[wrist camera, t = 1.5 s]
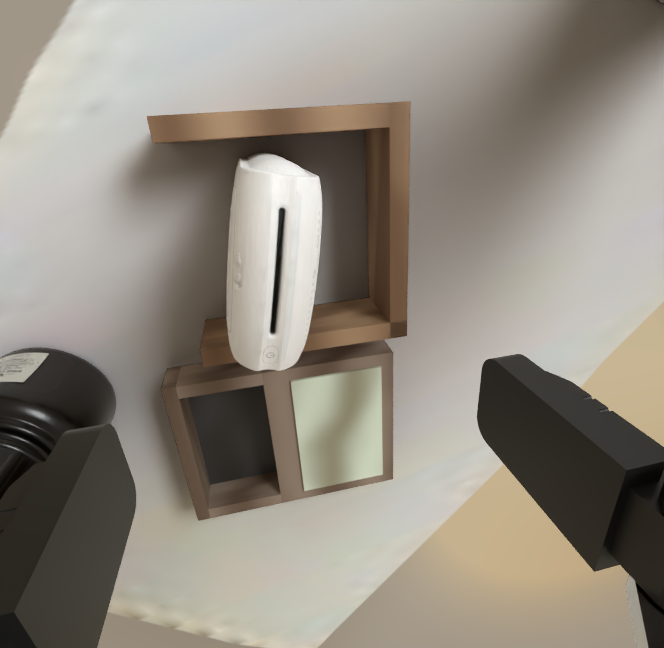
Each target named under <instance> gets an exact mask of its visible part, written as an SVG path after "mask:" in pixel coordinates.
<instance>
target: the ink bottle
mask: <svg viewBox="0 0 664 648" xmlns="http://www.w3.org/2000/svg"><path fill="white" fill-rule="evenodd" d="M115 408H116V399H115V393H114V390H113V388H112V386H111V384H110V382H109V381H108V379H107V378H106V377H105V376H104V375H103V374H102V373H101V372H100V371H99V370H98V369H97V368H96V367H94V366H93V365H92V364H90V363H89V362H87V361H85V360H84V359H82V358H80V357H77V356H75V355H73V354H70V353H67V352H64V351H60V350H56V349H50V348H26V349H21V350H17V351H14V352H11V353H9V354H6V355H4V356H2V357H1V358H0V500H1V498H2V497H3V495H4V494H5V492H6V491H7V489H8V488H9V486H11V485H12V484H13V483H14V482H15V481H16V480H17V479H19V478H20V477H21V476H22V475H23V474H24V473H25V472H26V471H28V470H29V469H30V468H31V467H32V466H33V465H34V464H35V463H40V462H45V461H46V460H47V458H48V457H49V455H50V453H51V452H52V450H53V449H54V447H55V445H56V444H57V442H58V440H59V439H60V437H61V436H62V434H63V433H64V432H66V431H68V430H74V429H80V428H86V427H92V426H97V425H103V424H111V422H112V420H113V417H114V414H115Z"/></svg>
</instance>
